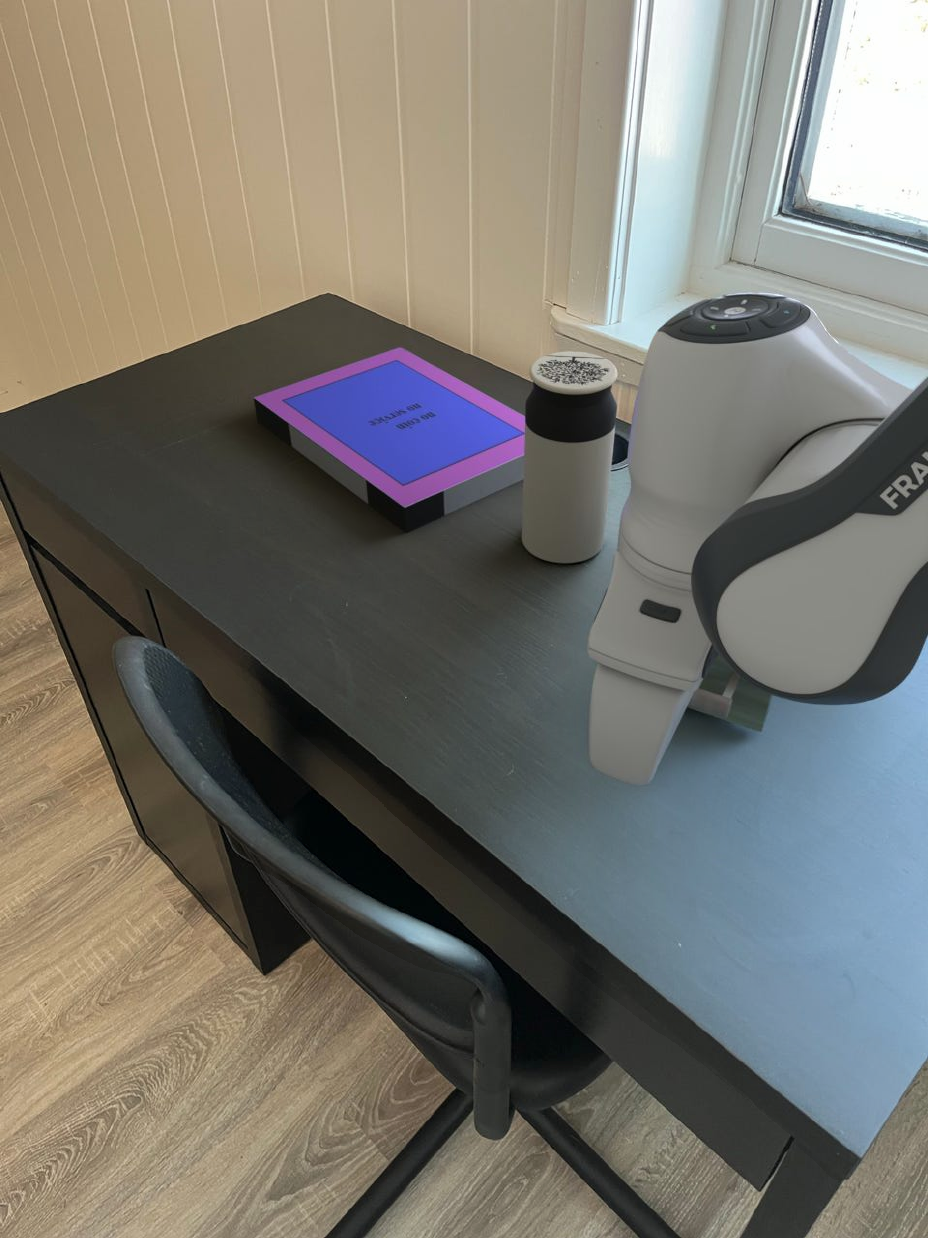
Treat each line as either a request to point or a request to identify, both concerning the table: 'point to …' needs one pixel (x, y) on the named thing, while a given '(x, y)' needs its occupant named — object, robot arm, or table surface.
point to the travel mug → (568, 456)
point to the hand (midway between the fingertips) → (662, 729)
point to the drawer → (731, 697)
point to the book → (400, 435)
